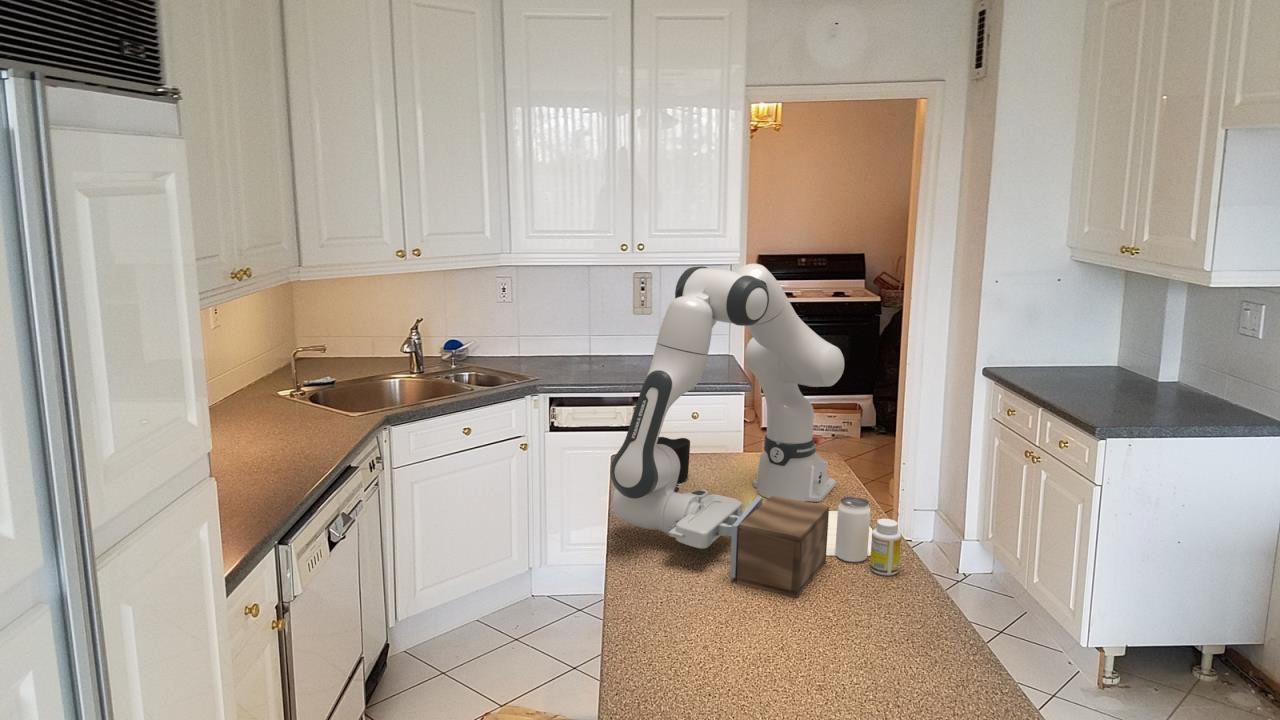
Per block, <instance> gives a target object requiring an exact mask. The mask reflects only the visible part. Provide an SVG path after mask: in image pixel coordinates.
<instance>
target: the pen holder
mask: <svg viewBox="0 0 1280 720" xmlns="http://www.w3.org/2000/svg"><path fill="white" fill-rule="evenodd" d="M657 444H665V445H667V446H669V447H671V448H672V449H673V450H674V451H675V452H676V453H677V455H678V457H679V459H680V464H681V469H680V474H679V478H678V482H677V484H682V483H684V482H687V480H688V478H689V477H688V476H689V469H690V468H689V465H690V451H691V449H690V448H691V440H690V439H689V438H686V437H680V438H676V439H673V438H669V437H664V436H659V438H658V441H657Z"/></svg>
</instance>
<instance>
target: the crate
mask: <svg viewBox="0 0 1280 720" xmlns="http://www.w3.org/2000/svg"><path fill="white" fill-rule="evenodd" d="M829 513H830V506H829V505H824V504H818V503H814V502H813V503H812V502H809V501H804V502H803V501H798V500H792V499H787V498H782V497H776V496H771V497H770V498H767V499H766V501H764V502H762V505H761V506H760V507H759V508H757V509H756V510H755V511H754V512H753V513H752V514H751V515H749V516H748V517H747V518H746V519H745V520H744V521H743V522H741V523H740V524H739V541H738V566H737V576H736V584H737V585H741V586H745V587H750V588H754V589H758V590H762V591H767V592H770V593H775V594H779V595H783V596H788V597H793V598H796V599H797V598H798V597H799V596H800V595H801V594H802V593H803V591H805V589H806V588H807V586H808V585H809V584H810V583H811V581H812V580H813V579H814V578H815V577H816V575H817V574H818V573H819V572H820V570H821V569H822V568H823V567H824V565H825V564H826V563H827V548H828V547H827V546H828V534H829V533H828V530H829V516H830V514H829Z"/></svg>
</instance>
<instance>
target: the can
mask: <svg viewBox="0 0 1280 720" xmlns="http://www.w3.org/2000/svg"><path fill="white" fill-rule="evenodd" d="M869 504H870V502H869V501H868V500H867V499H865V498H863V497H859V496H844V497H842V498H841V499H840V503H839V505H838V507H837V517H836V518H837V519H836V535H835V550H834V551H835V552H834V554H835V556H836V557H837V558H838V559H839V560H840V561H843V562H846V563H853V564H854V563H855V564H856V563H861V562H864V561H866V559H867V558H868V553H869V552H868V551H869V541H870V540H869V539H870V538H869V537H870V524H871V508H870V506H869Z"/></svg>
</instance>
